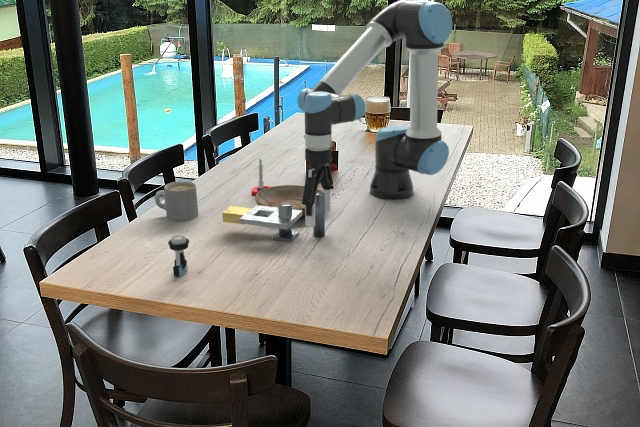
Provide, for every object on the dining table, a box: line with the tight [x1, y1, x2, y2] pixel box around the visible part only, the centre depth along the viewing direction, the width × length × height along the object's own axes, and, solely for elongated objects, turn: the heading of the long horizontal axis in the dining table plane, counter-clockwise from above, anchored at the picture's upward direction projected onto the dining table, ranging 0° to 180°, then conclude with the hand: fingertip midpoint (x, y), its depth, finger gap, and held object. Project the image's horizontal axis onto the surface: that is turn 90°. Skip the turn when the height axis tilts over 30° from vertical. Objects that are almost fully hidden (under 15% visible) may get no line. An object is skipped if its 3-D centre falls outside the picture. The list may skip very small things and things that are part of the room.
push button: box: [167, 234, 190, 277], centre depth 180 cm, size 7×5×10 cm
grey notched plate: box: [222, 203, 303, 243], centre depth 205 cm, size 22×12×10 cm, turn 71°
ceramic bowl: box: [254, 184, 321, 216], centre depth 225 cm, size 23×24×5 cm
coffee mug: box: [154, 180, 199, 222], centre depth 220 cm, size 13×10×10 cm
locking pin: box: [312, 192, 326, 238], centre depth 202 cm, size 3×3×13 cm
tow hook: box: [251, 158, 273, 196], centre depth 241 cm, size 8×13×9 cm
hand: (318, 217), depth 203 cm, fingers open, 13 cm apart
